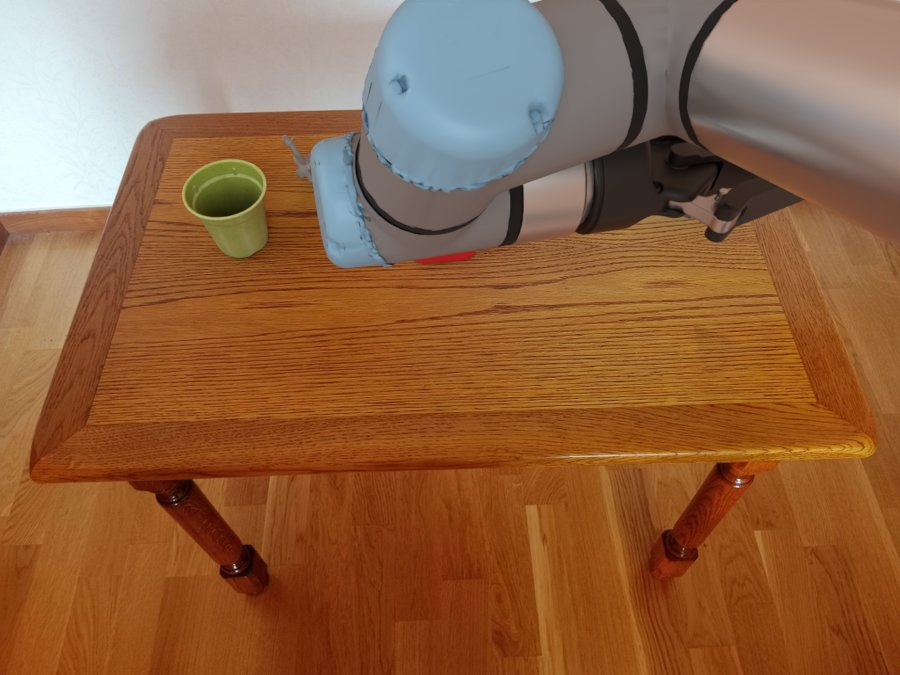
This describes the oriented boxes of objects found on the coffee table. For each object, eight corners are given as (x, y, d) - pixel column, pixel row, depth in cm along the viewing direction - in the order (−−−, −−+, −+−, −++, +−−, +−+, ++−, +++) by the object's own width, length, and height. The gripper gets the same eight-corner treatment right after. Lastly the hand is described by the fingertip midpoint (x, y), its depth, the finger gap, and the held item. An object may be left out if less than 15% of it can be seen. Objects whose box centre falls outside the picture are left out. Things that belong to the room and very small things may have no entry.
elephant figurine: (373, 171, 93) (339, 196, 86) (345, 194, 96) (310, 220, 89) (325, 107, 91) (285, 128, 84) (298, 132, 94) (258, 154, 87)
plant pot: (288, 212, 89) (272, 159, 82) (275, 270, 84) (257, 219, 76) (214, 211, 89) (192, 158, 82) (197, 269, 84) (172, 218, 77)
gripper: (525, 159, 50) (809, 124, 55) (595, 293, 43) (917, 238, 48) (542, 61, 44) (859, 32, 49) (627, 196, 37) (991, 146, 42)
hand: (887, 133), depth 48 cm, fingers closed
